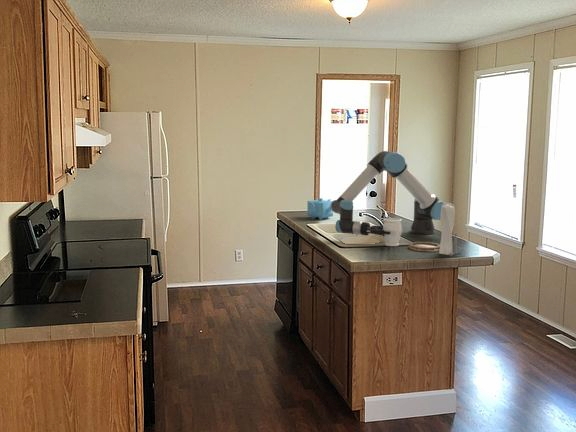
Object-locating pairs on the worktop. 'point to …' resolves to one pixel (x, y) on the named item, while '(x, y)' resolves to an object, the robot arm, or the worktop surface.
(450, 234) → the skyscraper
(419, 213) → the robot arm
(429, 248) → the coaster
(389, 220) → the jar
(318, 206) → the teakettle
